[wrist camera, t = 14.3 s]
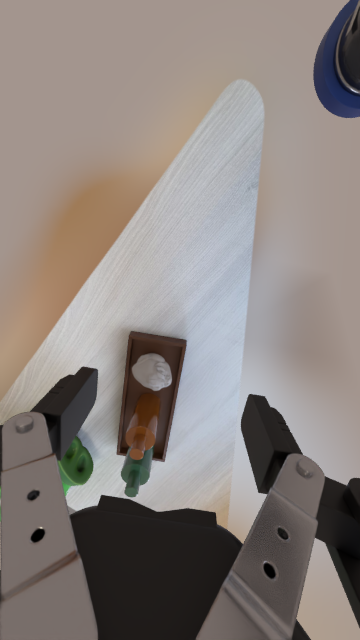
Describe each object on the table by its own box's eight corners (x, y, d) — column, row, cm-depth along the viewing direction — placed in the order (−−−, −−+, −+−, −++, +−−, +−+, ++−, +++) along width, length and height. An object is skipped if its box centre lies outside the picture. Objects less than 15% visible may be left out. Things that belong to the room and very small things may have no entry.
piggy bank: (106, 456, 53) (76, 535, 38) (41, 480, 56) (-10, 562, 41) (71, 406, 49) (23, 474, 35) (2, 435, 52) (-68, 508, 38)
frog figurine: (169, 379, 45) (166, 402, 39) (134, 370, 45) (124, 392, 39) (177, 351, 44) (175, 370, 37) (140, 342, 43) (131, 360, 37)
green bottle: (146, 421, 49) (133, 476, 37) (160, 438, 50) (152, 495, 38) (127, 432, 50) (109, 489, 38) (142, 448, 51) (129, 507, 39)
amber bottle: (151, 388, 46) (139, 436, 35) (166, 406, 47) (159, 458, 36) (131, 401, 47) (113, 451, 36) (146, 418, 48) (134, 471, 37)
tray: (131, 331, 43) (128, 335, 41) (186, 340, 44) (186, 344, 42) (119, 446, 52) (116, 454, 50) (165, 453, 52) (164, 462, 50)
